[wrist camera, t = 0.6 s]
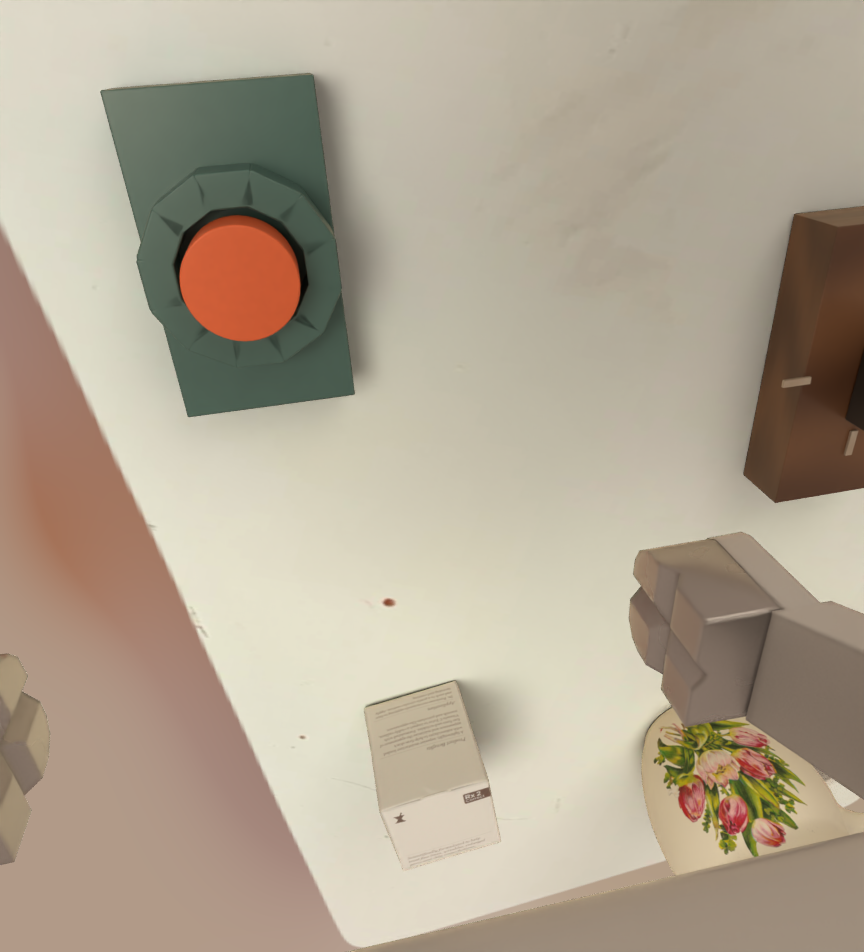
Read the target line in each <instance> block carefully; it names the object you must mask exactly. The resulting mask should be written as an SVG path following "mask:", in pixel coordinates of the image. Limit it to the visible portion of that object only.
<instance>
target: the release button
mask: <svg viewBox="0 0 864 952" xmlns="http://www.w3.org/2000/svg"><path fill="white" fill-rule="evenodd" d="M179 278H180V288H181V293H182V296H183V299H184V302H185V304H186V306H187V308H188V309H189V311H190V312H191V314H192V315H193V316H194V318H195V319H196V320H197V321H198V322H199V323H200V324H201V325H202V326H204V327H205V328H206V329H208V330H209V331H211V332H213V333H214V334H216V335H218V336H221V337H223V338H227V339H230V340H235V341H254V340H260V339H263V338H266V337H268V336H270V335H273V334H274V333H276V332H277V331H279V330H280V329H281V328H283V327H284V326H285V325H286V324H287V323H288V321H289V320H290V319H291V317H292V316H293V314H294V312H295V310H296V308H297V305H298V302H299V298H300V288H301V285H300V275H299V267H298V262H297V259H296V256H295V253H294V251H293V249H292V247H291V245H290V244H289V243H288V241H287V240H286V238H285V237H284V236H283V235H282V234H281V233H280V232H279V231H278V230H277V229H275V228H274V227H272V226H271V225H270V224H268V223H266V222H264V221H262V220H259V219H257V218H254V217H249V216H243V215H231V216H225V217H221V218H218V219H215V220H213V221H211V222H209V223H208V224H206V225H205V226H203V227H202V228H201V229H200V230H199V231H198V232H197V233H196V235H195V236H194V237H193V239H192V240H191V242H190V244H189V246H188V248H187V251H186V253H185V255H184V258H183V260H182V263H181V267H180V276H179Z"/></svg>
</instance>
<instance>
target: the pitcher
mask: <svg viewBox="0 0 864 952" xmlns="http://www.w3.org/2000/svg"><path fill="white" fill-rule="evenodd" d="M745 719H746V717H740V718H734V719H729V720H723V721H717V722H711V723H705V724H700V725H694V726H688V727H685V726H684V725H683V723H682V721H681V720H680V718H679V717H678V715H677V714H676V712H675V710H674V709H673V707H672V708H671V709H669V710H667V711H666V712H665V713H663V714H662V715H661V716H660V717H659V718H658V719H656V721H655V722H654V723H653V724H652V725H651V727H650V728H649V730H648V732H647V734H646V737H645V745H644V749H643V754H642V765H641V774H642V785H643V791H644V797H645V803H646V807H647V811H648V815H649V818H650V821H651V824H652V828H653V830H654V833H655V835H656V838H657V840H658V843H659V845H660V848H661V850H662V852H663V854H664V856H665V858H666V860H667V862H668V864H669V866H670V868H671V869H672V872H673V873H674V875H679V874H683V873H688V872H692V871H696V870H701V869H705V868H709V867H714V866H718V865H722V864H726V863H731V862H735V861H739V860H744V859H748V858H752V857H757V856H761V855H765V854H770V853H774V852H778V851H783V850H787V849H791V848H796V847H800V846H804V845H809V844H813V843H817V842H822V841H826V840H830V839H835V838H839V837H843V836H848V835H852V834H856V833H861V832H864V813H858V812H854V811H851V810H848V809H845V808H843V807H841V806H840V805H839V804H838V803H837V802H836V800H835V798H834V796H833V794H832V792H831V790H830V789H829V787H828V786H827V784H826V783H825V781H824V780H823V778H822V777H821V776H820V774H819V773H818V772H817V771H816V769H815V768H814V767H813V765H812V764H810V763H809V762H807V761H806V760H804V759H803V758H801V757H800V756H798V755H797V754H795V753H794V752H792V751H791V750H789V749H788V748H786V747H785V746H783V745H782V744H781V743H779V742H778V741H776V740H775V739H773V738H772V737H770V736H769V735H767V734H766V733H764V732H763V731H761V730H760V729H758V728H757V727H755V726H754V725H752V724H751V723H749V722H748V721H746V720H745Z"/></svg>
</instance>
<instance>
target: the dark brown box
mask: <svg viewBox="0 0 864 952" xmlns="http://www.w3.org/2000/svg"><path fill="white" fill-rule="evenodd" d="M846 420H847V421H849V422H850V423H852V424H853V425H855V426H857V427H858V428H860V429H861V430H863V431H864V352H863V356H862V360H861V363H860V367H859V371H858V375H857V378H856V382H855V386H854V389H853V393H852V397H851V400H850V404H849V408H848V412H847V415H846Z"/></svg>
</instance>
